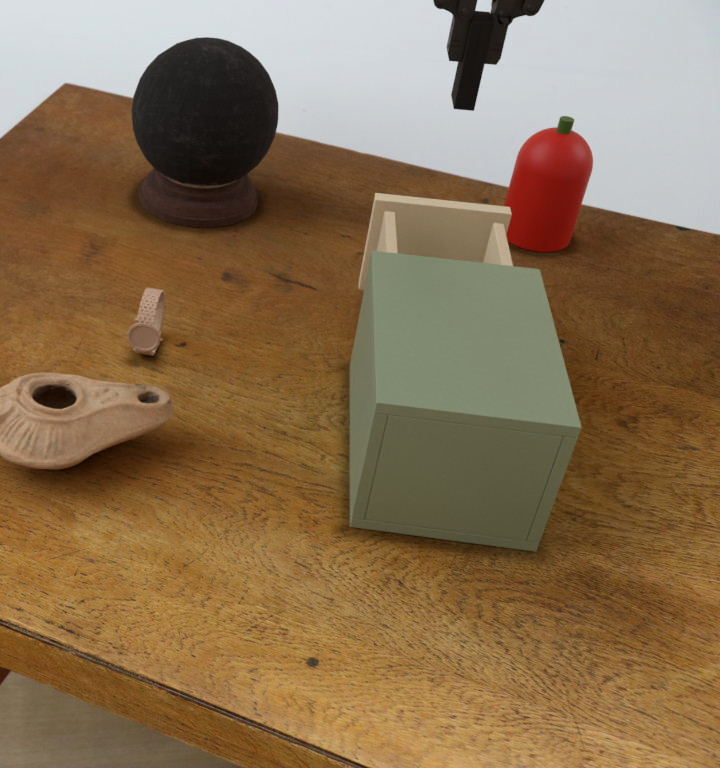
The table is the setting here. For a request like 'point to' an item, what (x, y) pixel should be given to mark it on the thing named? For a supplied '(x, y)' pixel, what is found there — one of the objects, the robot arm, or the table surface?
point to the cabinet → (457, 402)
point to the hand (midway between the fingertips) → (462, 102)
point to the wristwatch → (148, 322)
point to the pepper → (548, 188)
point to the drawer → (437, 230)
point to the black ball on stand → (203, 131)
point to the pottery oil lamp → (74, 417)
